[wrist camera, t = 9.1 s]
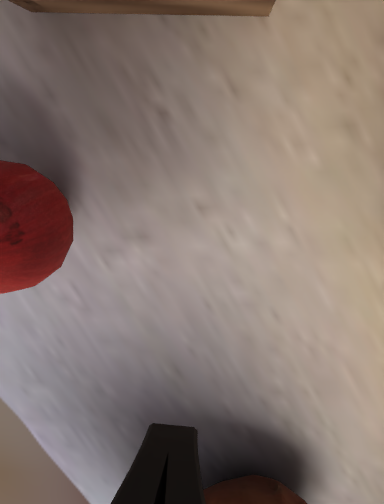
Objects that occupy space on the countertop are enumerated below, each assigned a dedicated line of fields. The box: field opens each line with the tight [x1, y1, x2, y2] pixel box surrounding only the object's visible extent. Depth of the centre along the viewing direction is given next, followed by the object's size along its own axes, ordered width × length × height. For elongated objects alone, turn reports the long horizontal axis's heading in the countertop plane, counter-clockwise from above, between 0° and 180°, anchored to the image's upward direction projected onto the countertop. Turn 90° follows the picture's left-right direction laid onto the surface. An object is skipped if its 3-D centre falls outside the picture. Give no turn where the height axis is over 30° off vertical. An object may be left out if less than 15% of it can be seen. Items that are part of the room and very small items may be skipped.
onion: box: [0, 160, 73, 293], centre depth 15 cm, size 6×6×8 cm
